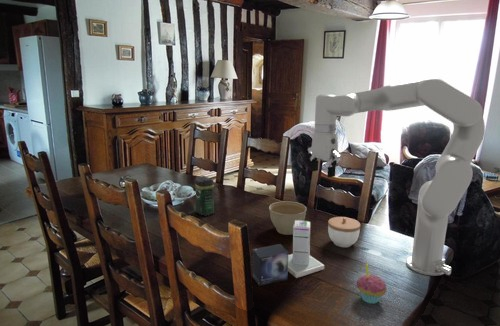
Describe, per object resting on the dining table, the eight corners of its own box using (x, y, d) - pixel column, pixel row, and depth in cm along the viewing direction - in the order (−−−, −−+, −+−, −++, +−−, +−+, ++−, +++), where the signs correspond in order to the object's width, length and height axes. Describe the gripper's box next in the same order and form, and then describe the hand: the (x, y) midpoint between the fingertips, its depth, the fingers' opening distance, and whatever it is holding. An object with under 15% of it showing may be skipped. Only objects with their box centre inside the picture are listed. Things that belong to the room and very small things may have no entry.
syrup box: (308, 266, 122) (310, 227, 118) (291, 264, 123) (293, 226, 120) (309, 258, 127) (311, 221, 124) (293, 256, 128) (294, 219, 125)
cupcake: (354, 303, 104) (357, 267, 101) (356, 288, 112) (359, 254, 109) (385, 310, 101) (389, 273, 98) (385, 294, 109) (388, 259, 106)
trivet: (324, 269, 123) (324, 264, 123) (296, 278, 117) (296, 273, 117) (303, 254, 133) (303, 250, 133) (276, 262, 128) (277, 257, 127)
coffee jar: (216, 214, 173) (216, 178, 169) (202, 217, 169) (201, 180, 164) (207, 208, 181) (206, 173, 177) (193, 211, 176) (192, 176, 172)
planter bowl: (271, 222, 164) (271, 200, 161) (306, 225, 161) (307, 202, 158) (266, 236, 148) (266, 212, 146) (304, 240, 145) (305, 215, 143)
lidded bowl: (357, 252, 135) (360, 226, 132) (324, 247, 139) (326, 221, 137) (359, 239, 146) (361, 214, 144) (329, 234, 151) (330, 210, 148)
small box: (259, 287, 112) (260, 257, 110) (251, 277, 118) (251, 248, 116) (288, 280, 116) (289, 251, 114) (279, 270, 122) (280, 243, 120)
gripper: (349, 131, 123) (346, 178, 127) (317, 125, 137) (315, 167, 141) (333, 132, 119) (330, 180, 123) (302, 126, 134) (300, 169, 138)
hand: (322, 173), depth 132 cm, fingers open, 9 cm apart
